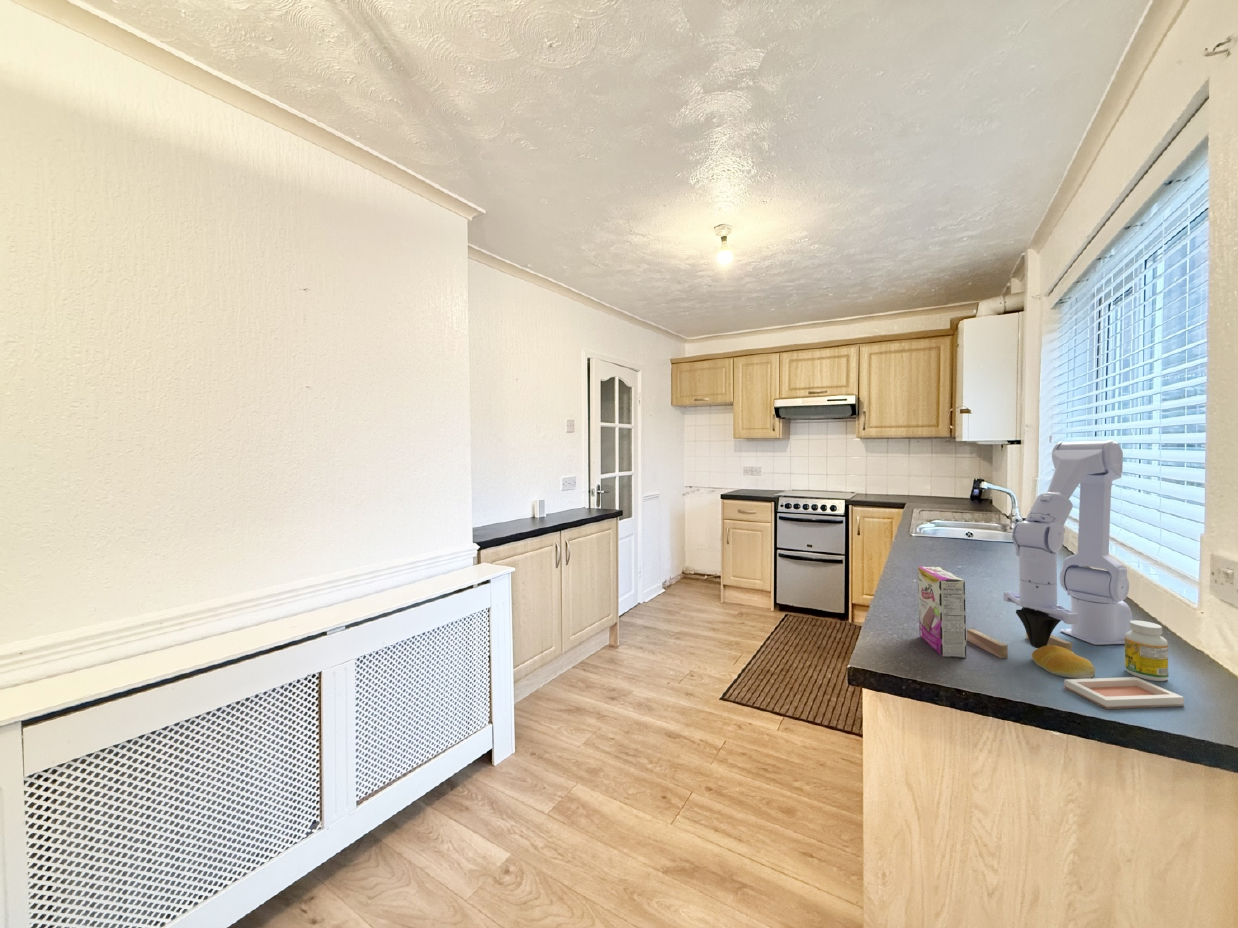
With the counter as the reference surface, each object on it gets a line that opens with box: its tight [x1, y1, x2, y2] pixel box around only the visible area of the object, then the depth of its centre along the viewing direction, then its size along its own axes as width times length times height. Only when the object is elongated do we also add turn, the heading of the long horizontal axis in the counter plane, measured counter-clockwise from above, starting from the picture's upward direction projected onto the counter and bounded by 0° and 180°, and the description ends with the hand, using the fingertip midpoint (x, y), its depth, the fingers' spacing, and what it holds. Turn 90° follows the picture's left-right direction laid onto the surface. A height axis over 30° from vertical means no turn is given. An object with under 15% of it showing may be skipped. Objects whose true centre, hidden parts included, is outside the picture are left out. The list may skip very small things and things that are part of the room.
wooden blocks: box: [966, 628, 1073, 659], centre depth 100 cm, size 15×9×2 cm, turn 91°
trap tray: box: [1064, 676, 1185, 710], centre depth 80 cm, size 13×7×2 cm, turn 91°
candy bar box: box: [917, 566, 967, 659], centre depth 101 cm, size 11×5×16 cm, turn 168°
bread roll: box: [1031, 645, 1096, 679], centre depth 90 cm, size 8×9×4 cm
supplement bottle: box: [1124, 619, 1169, 682], centre depth 87 cm, size 5×5×10 cm
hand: (1038, 646), depth 95 cm, fingers closed
